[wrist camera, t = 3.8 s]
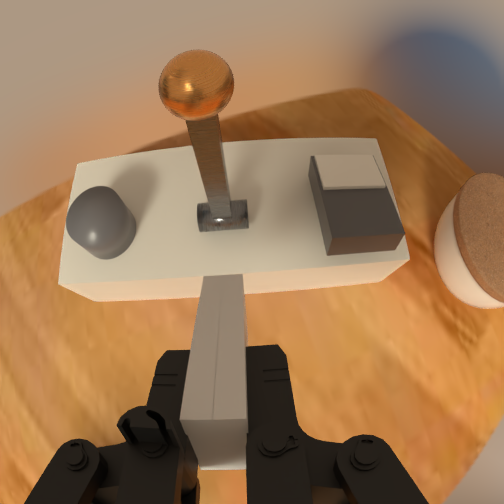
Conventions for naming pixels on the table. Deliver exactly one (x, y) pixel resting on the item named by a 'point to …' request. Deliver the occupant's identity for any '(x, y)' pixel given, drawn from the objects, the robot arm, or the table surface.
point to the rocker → (353, 205)
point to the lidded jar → (473, 242)
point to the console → (227, 241)
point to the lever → (205, 130)
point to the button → (101, 223)
